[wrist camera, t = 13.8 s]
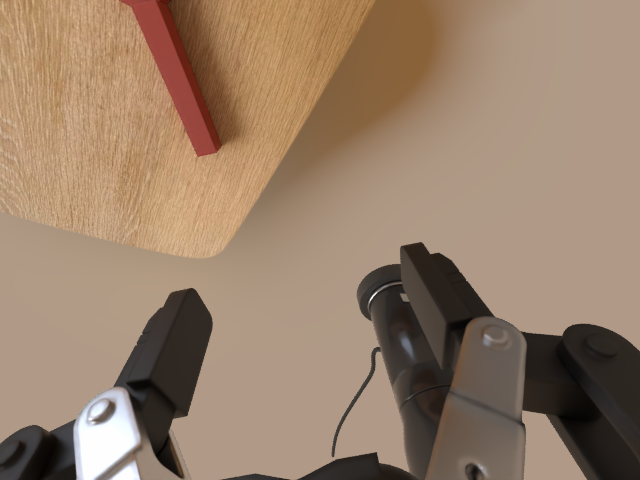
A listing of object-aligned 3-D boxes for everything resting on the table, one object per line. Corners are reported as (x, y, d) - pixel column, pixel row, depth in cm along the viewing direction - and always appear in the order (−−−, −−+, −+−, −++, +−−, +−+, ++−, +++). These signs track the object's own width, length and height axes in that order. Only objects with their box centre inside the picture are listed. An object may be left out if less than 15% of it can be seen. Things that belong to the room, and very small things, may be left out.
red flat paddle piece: (239, 142, 33) (235, 148, 31) (186, 153, 33) (179, 160, 31) (154, -104, 22) (139, -120, 20) (76, -84, 22) (53, -98, 20)
